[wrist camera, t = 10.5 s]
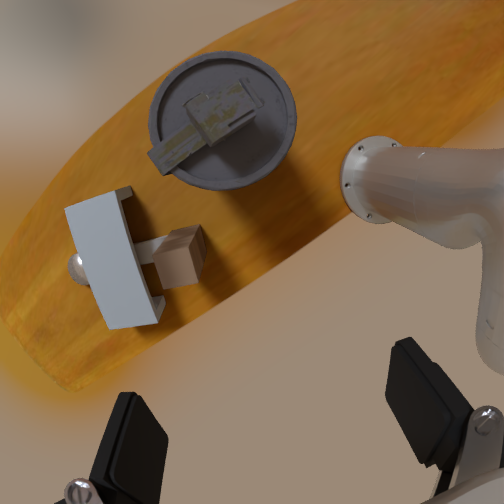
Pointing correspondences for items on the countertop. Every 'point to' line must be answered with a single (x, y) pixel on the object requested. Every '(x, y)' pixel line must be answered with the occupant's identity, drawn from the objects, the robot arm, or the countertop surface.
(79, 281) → the token
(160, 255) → the pusher
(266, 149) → the canister
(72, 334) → the countertop surface
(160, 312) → the shelf
